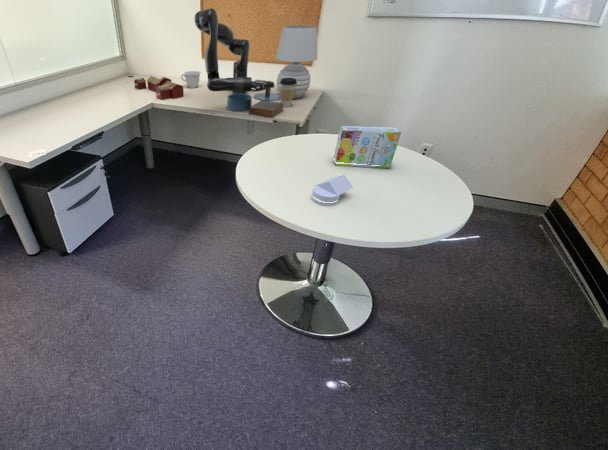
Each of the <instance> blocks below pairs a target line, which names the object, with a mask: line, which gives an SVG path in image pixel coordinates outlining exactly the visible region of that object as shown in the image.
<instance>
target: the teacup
mask: <svg viewBox="0 0 608 450" xmlns="http://www.w3.org/2000/svg"><path fill="white" fill-rule="evenodd" d="M200 76H201V71H199V70H188V71H185V72H183V73H182V74H181V76H180V79H181V81H183V82H186V85H187V86H188V88H189V89H196V88H197V87H198V85H200ZM183 77H184V78H185V79H184V78H183Z"/></svg>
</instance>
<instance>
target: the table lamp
mask: <svg viewBox="0 0 608 450" xmlns="http://www.w3.org/2000/svg"><path fill="white" fill-rule="evenodd" d="M275 59H276V60H277V61H280V62H291V63H289V64H287V65H285V66H283V68H282V69H280V71H279V73H277V78H276V87H277V88H276V89H277V91H278V92H279V94H280V88H281V83H280V81H281V79H283V78H294V79H296V81H297V84H296V86H295V91H294V96H293V100H295V99H300V98H301V97H302V96H304V95H305V94H306V92H308V90H309V88H310V85H311V84H310V83H311V73H310V70H309V69H308V68H307V67H306V66H305V65H303V64H301V63H306V62H307V63H308V62H313V61H316V60H318V26H316V25H312V24H311V25H310V24H292V25H284V26H283V27H282V32H281V36H280V40H279V43H278V47H277V51H276V55H275Z"/></svg>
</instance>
